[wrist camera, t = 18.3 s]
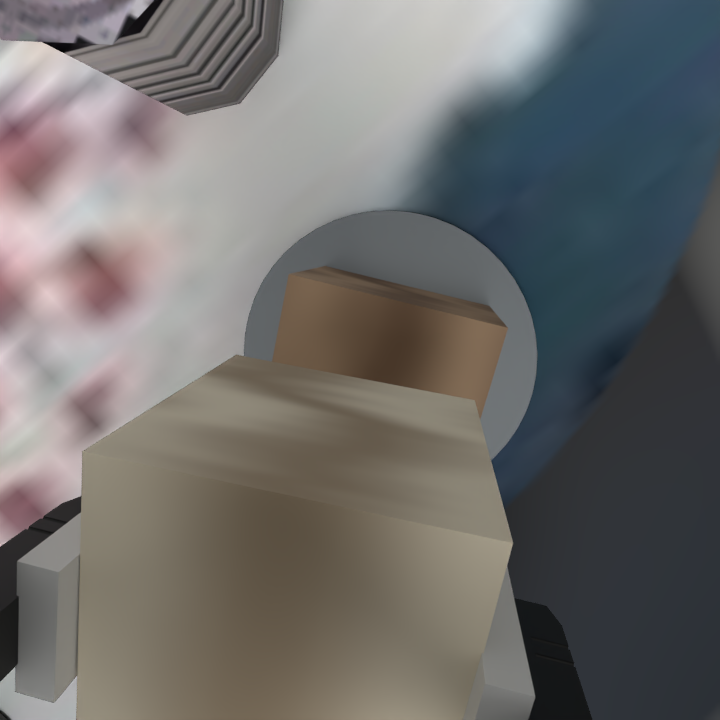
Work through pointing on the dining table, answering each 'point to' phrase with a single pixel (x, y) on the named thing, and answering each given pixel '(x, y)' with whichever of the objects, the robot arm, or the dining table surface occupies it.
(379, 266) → the pad
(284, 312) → the block
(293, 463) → the beige cube
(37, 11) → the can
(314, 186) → the dining table surface
